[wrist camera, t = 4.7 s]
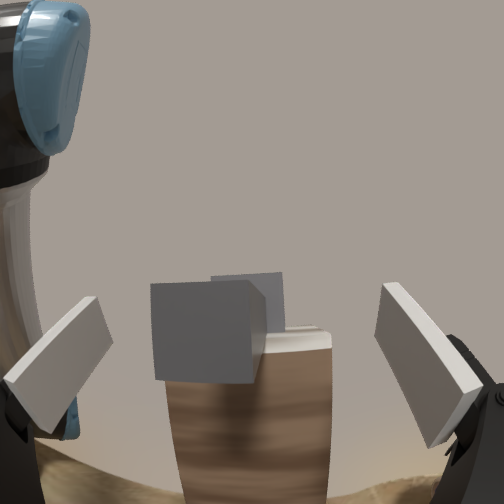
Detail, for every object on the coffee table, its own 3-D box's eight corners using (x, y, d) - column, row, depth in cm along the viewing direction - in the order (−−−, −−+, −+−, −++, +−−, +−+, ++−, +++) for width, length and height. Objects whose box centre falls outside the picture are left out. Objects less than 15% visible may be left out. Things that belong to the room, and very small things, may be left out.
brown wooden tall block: (314, 569, 12) (331, 333, 18) (207, 569, 12) (161, 339, 18) (308, 523, 21) (311, 324, 27) (221, 524, 22) (198, 329, 28)
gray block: (306, 380, 7) (295, 208, 8) (115, 374, 7) (114, 225, 8) (283, 326, 28) (280, 279, 29) (225, 329, 28) (223, 282, 29)
